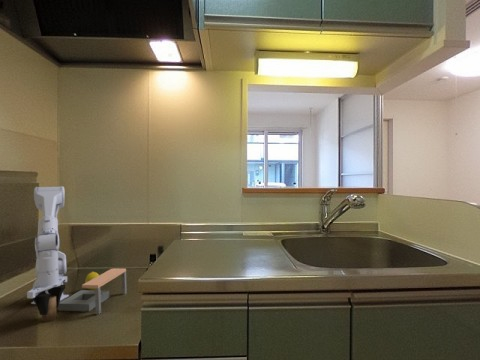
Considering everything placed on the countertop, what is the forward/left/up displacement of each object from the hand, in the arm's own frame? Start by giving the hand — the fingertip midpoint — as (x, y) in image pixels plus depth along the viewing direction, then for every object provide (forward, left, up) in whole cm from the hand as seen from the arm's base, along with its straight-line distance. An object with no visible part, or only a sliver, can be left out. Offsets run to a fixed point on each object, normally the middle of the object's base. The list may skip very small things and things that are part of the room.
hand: (49, 311), depth 93 cm
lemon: (-1, +24, -3) cm, 24 cm away
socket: (+4, +12, -3) cm, 13 cm away
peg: (0, 0, -3) cm, 3 cm away
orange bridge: (+12, +13, -3) cm, 18 cm away
